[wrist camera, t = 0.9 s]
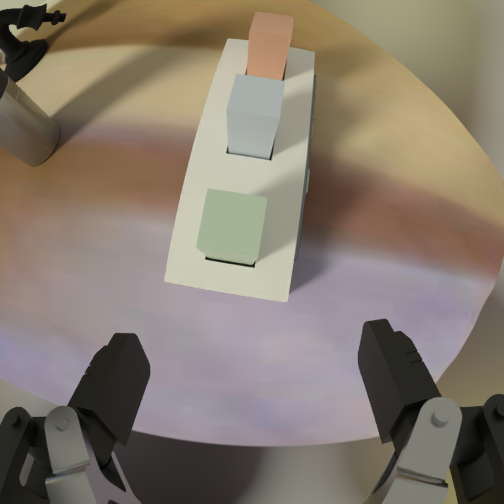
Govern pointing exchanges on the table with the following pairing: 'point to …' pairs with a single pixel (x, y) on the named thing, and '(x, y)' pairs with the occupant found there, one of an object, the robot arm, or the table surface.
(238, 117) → the key grey
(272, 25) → the key terracotta
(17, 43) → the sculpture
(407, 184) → the table surface
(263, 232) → the white flat bar
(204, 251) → the key sage
